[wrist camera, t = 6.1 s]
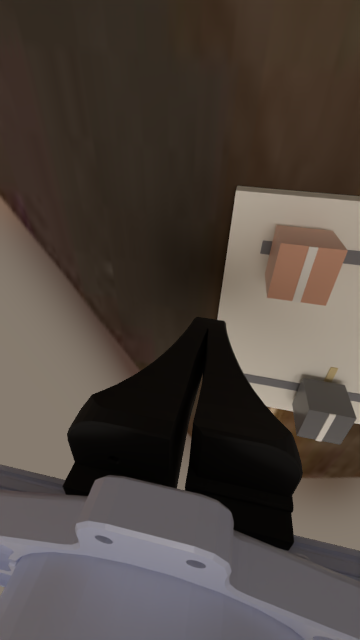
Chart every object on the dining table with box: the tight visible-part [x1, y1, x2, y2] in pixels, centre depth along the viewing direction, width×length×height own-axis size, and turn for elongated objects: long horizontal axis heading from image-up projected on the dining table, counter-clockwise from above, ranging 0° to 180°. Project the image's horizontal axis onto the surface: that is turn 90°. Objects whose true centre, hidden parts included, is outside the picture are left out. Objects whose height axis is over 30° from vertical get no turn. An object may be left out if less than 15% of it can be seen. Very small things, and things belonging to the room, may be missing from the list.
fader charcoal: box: [292, 378, 357, 444], centre depth 21 cm, size 3×3×3 cm
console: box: [217, 186, 360, 424], centre depth 20 cm, size 18×17×2 cm
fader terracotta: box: [265, 225, 348, 306], centre depth 15 cm, size 3×3×3 cm
